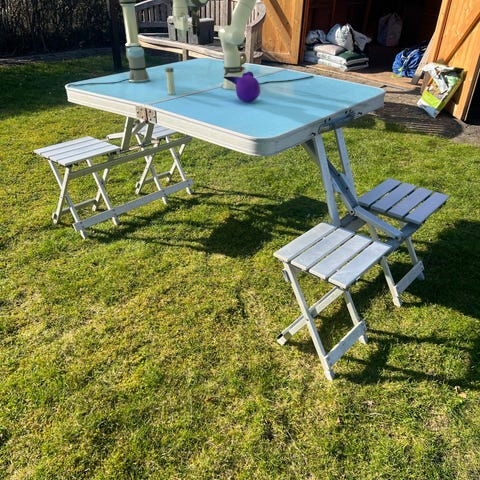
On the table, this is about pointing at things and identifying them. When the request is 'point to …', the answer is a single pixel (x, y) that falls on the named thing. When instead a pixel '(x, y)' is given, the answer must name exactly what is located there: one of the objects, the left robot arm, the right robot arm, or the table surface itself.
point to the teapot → (243, 59)
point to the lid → (169, 69)
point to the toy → (246, 86)
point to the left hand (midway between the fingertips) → (196, 35)
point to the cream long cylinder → (170, 83)
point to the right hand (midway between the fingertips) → (182, 37)
